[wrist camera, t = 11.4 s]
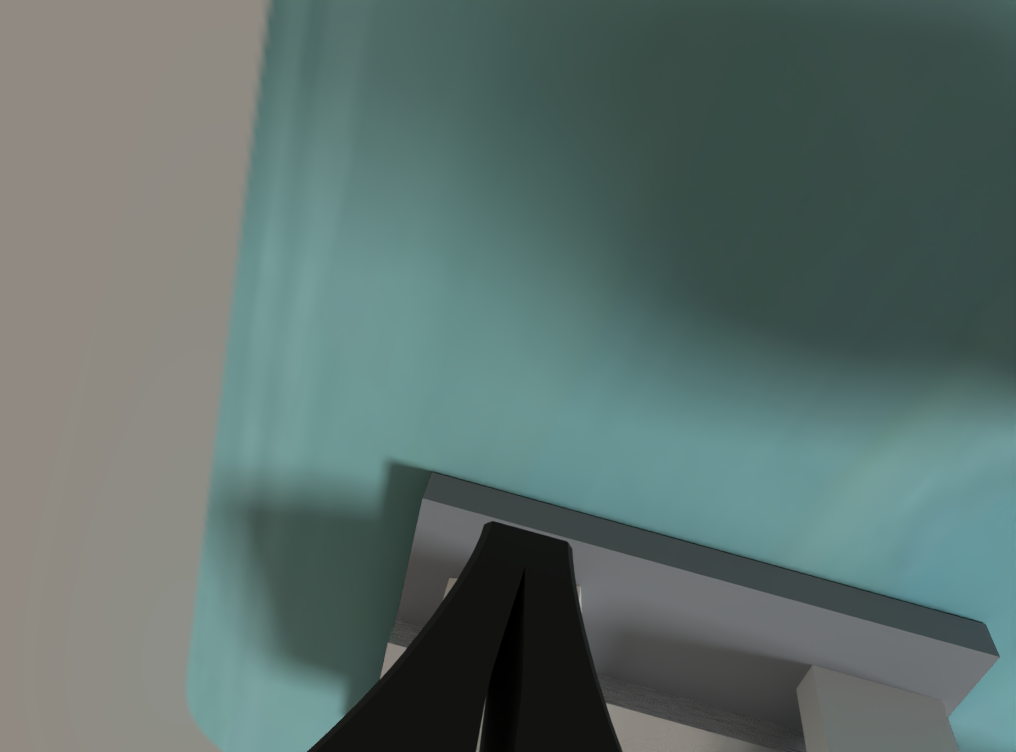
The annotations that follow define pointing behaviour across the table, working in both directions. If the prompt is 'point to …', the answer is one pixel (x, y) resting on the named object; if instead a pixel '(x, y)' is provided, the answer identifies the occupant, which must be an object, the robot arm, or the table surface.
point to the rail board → (719, 637)
